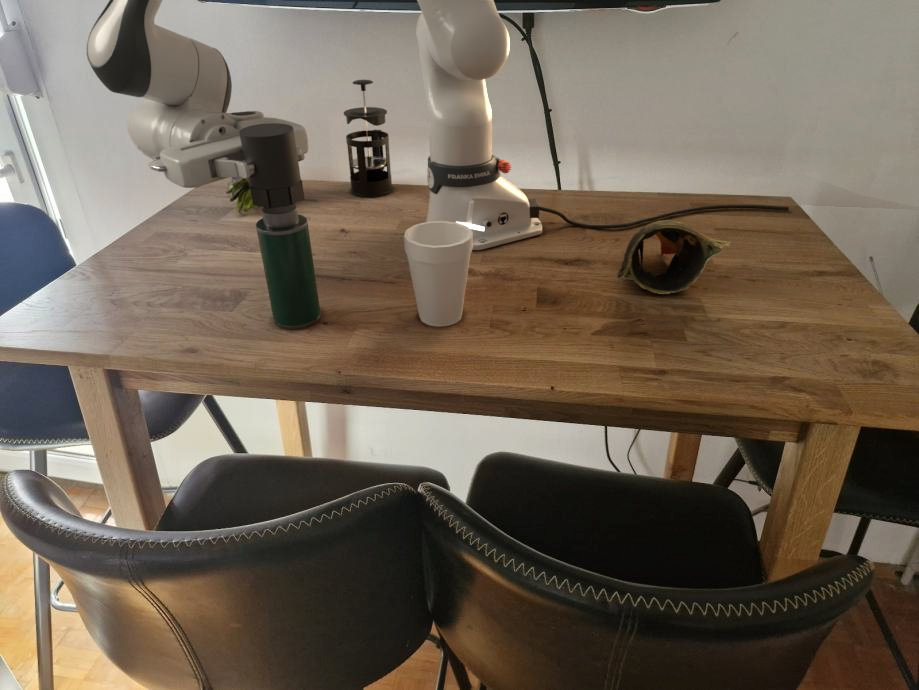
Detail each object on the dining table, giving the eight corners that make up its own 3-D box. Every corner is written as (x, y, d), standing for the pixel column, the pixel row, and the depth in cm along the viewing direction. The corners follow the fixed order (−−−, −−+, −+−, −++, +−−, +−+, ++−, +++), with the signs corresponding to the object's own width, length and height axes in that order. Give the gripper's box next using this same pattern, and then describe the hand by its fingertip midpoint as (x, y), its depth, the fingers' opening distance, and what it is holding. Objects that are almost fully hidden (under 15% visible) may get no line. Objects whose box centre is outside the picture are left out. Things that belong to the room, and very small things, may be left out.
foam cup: (449, 338, 90) (447, 253, 83) (396, 321, 94) (390, 238, 87) (483, 310, 97) (484, 228, 90) (432, 295, 101) (429, 216, 94)
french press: (383, 200, 138) (375, 86, 126) (342, 197, 140) (330, 84, 128) (401, 182, 147) (394, 75, 135) (362, 180, 149) (353, 74, 137)
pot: (691, 200, 110) (726, 203, 93) (707, 262, 113) (744, 277, 95) (593, 232, 113) (609, 241, 95) (610, 293, 115) (629, 313, 98)
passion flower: (248, 227, 140) (246, 173, 141) (293, 221, 137) (291, 166, 138) (215, 214, 129) (214, 155, 130) (263, 207, 126) (261, 147, 127)
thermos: (316, 303, 99) (301, 196, 90) (324, 324, 94) (308, 213, 85) (271, 311, 97) (250, 203, 88) (276, 333, 92) (255, 220, 83)
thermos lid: (299, 188, 89) (289, 121, 84) (307, 203, 84) (296, 133, 79) (250, 194, 87) (237, 126, 83) (254, 210, 82) (241, 139, 77)
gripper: (134, 139, 81) (200, 157, 74) (265, 108, 95) (331, 121, 88) (148, 188, 84) (212, 210, 77) (272, 151, 98) (336, 167, 91)
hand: (276, 162), depth 83 cm, fingers closed on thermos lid, 6 cm apart
